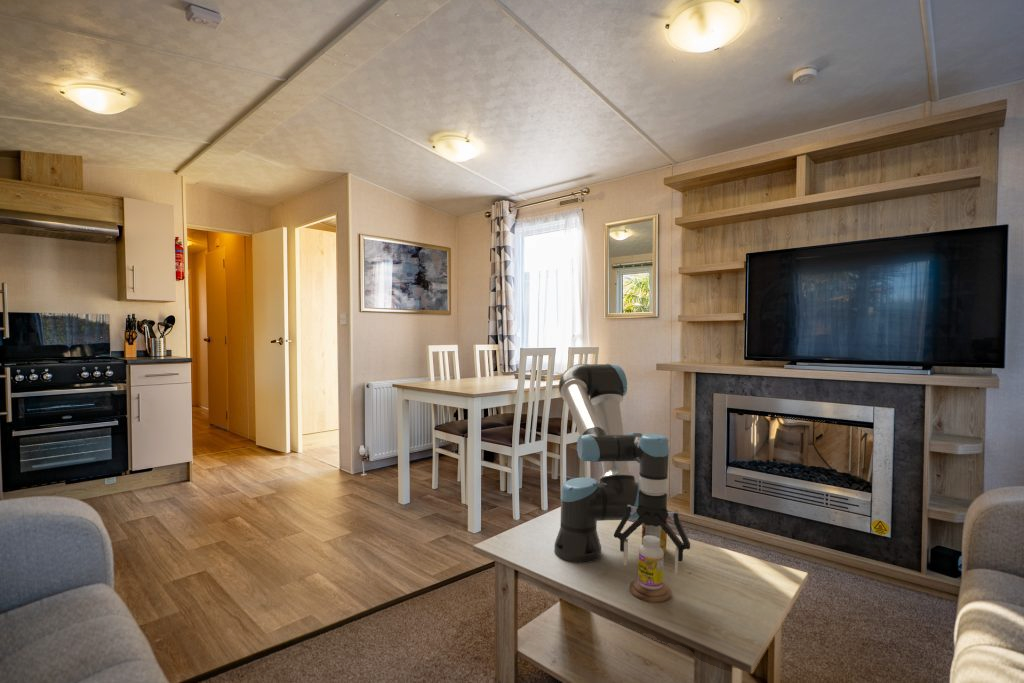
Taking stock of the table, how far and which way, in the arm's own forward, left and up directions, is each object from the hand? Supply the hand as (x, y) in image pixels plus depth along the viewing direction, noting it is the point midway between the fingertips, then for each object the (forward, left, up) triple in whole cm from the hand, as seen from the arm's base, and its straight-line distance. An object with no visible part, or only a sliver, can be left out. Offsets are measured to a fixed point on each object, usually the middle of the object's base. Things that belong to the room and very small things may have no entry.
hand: (650, 567), depth 138 cm
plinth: (0, 0, -7) cm, 7 cm away
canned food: (-1, +29, -7) cm, 30 cm away
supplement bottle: (0, 0, -5) cm, 5 cm away
